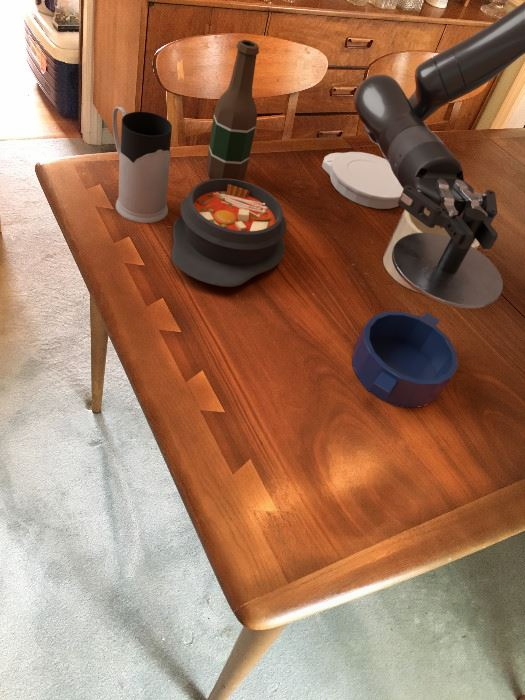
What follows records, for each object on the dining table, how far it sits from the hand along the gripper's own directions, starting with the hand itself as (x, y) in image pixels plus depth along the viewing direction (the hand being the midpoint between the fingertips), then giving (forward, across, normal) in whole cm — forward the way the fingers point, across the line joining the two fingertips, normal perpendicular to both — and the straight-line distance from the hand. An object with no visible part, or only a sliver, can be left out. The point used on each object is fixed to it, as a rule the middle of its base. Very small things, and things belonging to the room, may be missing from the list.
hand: (479, 242), depth 65 cm
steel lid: (-3, 0, +6) cm, 7 cm away
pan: (0, -2, +23) cm, 23 cm away
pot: (-23, +12, +23) cm, 35 cm away
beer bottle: (-50, -20, +22) cm, 58 cm away
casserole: (-27, -23, +22) cm, 42 cm away
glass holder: (-39, -37, +22) cm, 58 cm away
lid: (-51, +10, +23) cm, 57 cm away
